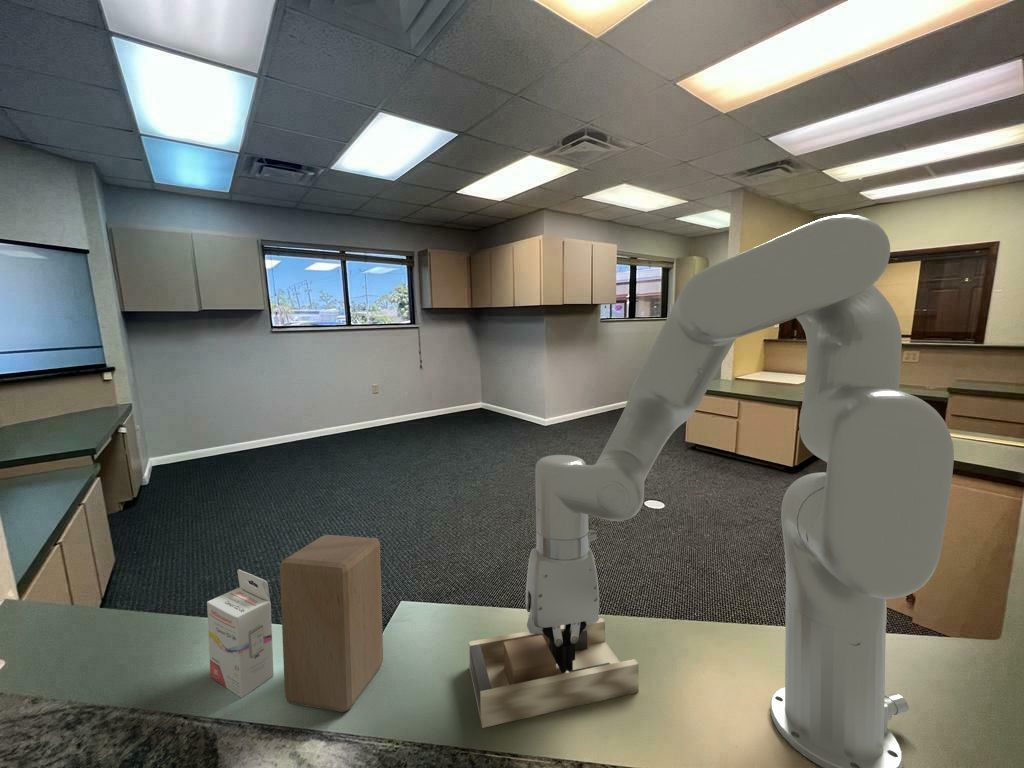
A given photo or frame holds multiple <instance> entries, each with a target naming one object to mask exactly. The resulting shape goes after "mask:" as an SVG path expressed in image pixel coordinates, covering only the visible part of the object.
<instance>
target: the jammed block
mask: <svg viewBox="0 0 1024 768" xmlns="http://www.w3.org/2000/svg"><path fill="white" fill-rule="evenodd" d="M504 669H505V672H506V675H507V679H508V682H509V685H512V684H517V683H522V682H527V681H532V680H536V679H541V678H546V677H551V676H556V661H555V659H554V657H553V655H552V653H551V651H550V649H549V647H548V645H547V643H546V641H545V639H544V637H543V635H539V636H533V637H528V638H522V639H517V640H511V641H506V642H504Z"/></svg>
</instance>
